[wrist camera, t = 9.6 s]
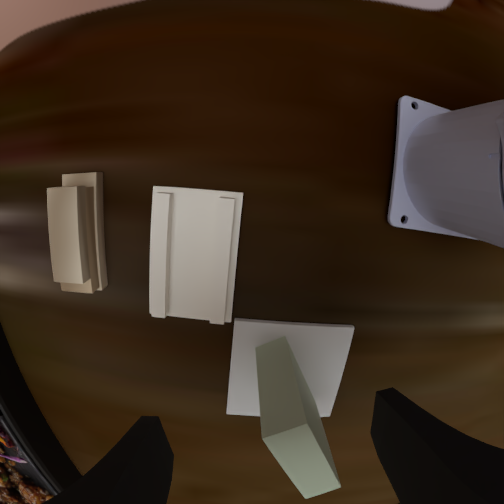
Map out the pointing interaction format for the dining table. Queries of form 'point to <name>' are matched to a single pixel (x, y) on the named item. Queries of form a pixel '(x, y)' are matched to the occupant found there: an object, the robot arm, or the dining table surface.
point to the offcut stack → (78, 232)
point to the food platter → (27, 442)
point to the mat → (305, 351)
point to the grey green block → (293, 420)
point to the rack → (193, 252)
